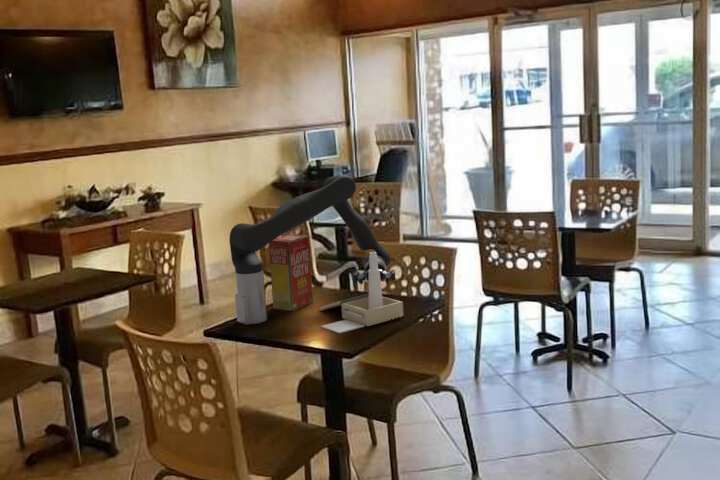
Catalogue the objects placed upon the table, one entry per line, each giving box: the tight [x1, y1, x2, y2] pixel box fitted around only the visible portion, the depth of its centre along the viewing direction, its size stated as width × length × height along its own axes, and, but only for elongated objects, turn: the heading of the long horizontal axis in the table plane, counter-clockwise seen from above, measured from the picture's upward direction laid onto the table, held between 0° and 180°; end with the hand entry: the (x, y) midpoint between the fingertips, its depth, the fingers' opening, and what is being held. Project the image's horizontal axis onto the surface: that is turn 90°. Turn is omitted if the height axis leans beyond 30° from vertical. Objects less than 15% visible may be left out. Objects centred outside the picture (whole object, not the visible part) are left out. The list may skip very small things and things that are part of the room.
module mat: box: [320, 319, 366, 334], centre depth 251 cm, size 10×10×1 cm
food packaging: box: [268, 233, 314, 312], centre depth 278 cm, size 13×9×25 cm
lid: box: [319, 293, 369, 311], centre depth 271 cm, size 15×13×1 cm
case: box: [339, 293, 404, 327], centre depth 259 cm, size 16×15×6 cm
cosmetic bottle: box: [368, 251, 383, 310], centre depth 258 cm, size 6×6×22 cm
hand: (374, 280), depth 260 cm, fingers open, 8 cm apart
